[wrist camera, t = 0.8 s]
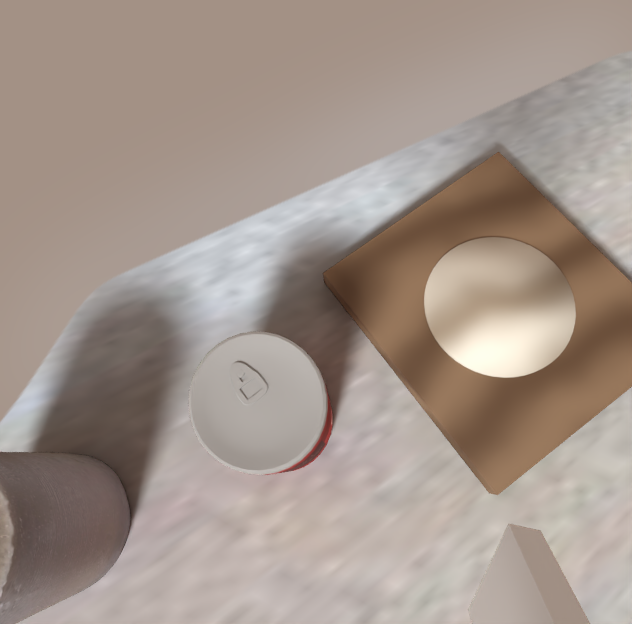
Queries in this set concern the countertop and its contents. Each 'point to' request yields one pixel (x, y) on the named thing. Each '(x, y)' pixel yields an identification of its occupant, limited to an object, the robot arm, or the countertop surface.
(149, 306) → the countertop surface
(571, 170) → the countertop surface
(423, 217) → the board
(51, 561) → the pillar candle
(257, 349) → the canned food
